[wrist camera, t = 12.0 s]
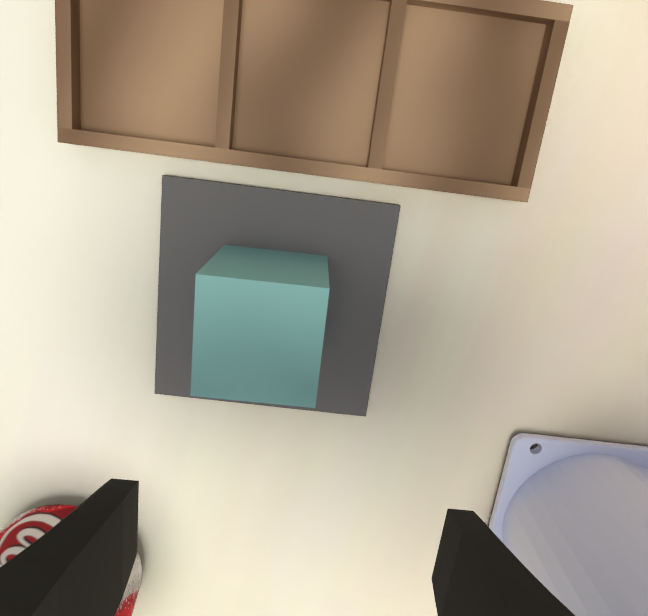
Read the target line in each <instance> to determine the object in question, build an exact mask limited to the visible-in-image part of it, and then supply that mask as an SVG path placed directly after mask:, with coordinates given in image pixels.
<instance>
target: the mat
mask: <svg viewBox="0 0 648 616" xmlns="http://www.w3.org/2000/svg"><path fill="white" fill-rule="evenodd" d="M399 211H400V205H397V204H389V203H381V202H373V201H365V200H357V199H349V198H342V197H334V196H326V195H318V194H310V193H302V192H294V191H286V190H279V189H271V188H263V187H255V186H247V185H239V184H231V183H223V182H216V181H208V180H200V179H192V178H184V177H176V176H168V175H162V201H161V229H160V257H159V285H158V313H157V341H156V369H155V394H164V395H173V396H182V397H191V398H200V399H210V400H219V401H228V402H237V403H246V404H256V405H265V406H274V407H283V408H292V409H302V410H311V411H320V412H329V413H338V414H348V415H357V416H366V411H367V405H368V399H369V393H370V387H371V381H372V375H373V369H374V363H375V357H376V351H377V345H378V338H379V332H380V326H381V320H382V314H383V308H384V302H385V296H386V290H387V284H388V278H389V272H390V266H391V260H392V254H393V248H394V242H395V236H396V229H397V223H398V217H399ZM224 245H233V246H242V247H251V248H260V249H269V250H278V251H288V252H297V253H306V254H315V255H324V256H327V259H328V273H329V286H330V290H329V298H328V307H327V315H326V323H325V332H324V340H323V348H322V356H321V365H320V373H319V381H318V390H317V398H316V406H315V408H309V407H298V406H288V405H278V404H268V403H258V402H247V401H237V400H227V399H217V398H207V397H196V396H190V393H191V370H192V348H193V325H194V302H195V279H196V273H197V272H198V271H199V270H200V269H201V268H202V267H203V266H204V265H205V264H206V263H207V262H208V261H209V260H210V259H211V258H212V257H213V256H214V255H215V254H216V253H217V252H218V251H219V250H220V249H221V248H222V247H223V246H224Z"/></svg>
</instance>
